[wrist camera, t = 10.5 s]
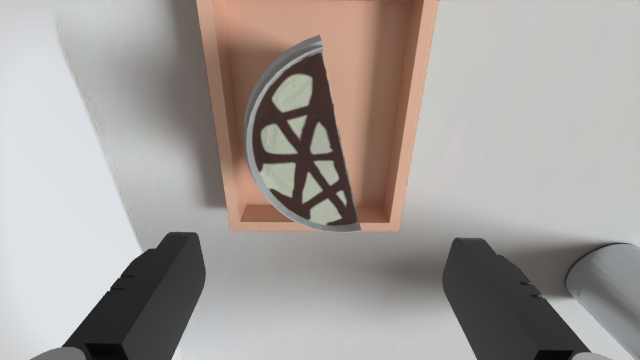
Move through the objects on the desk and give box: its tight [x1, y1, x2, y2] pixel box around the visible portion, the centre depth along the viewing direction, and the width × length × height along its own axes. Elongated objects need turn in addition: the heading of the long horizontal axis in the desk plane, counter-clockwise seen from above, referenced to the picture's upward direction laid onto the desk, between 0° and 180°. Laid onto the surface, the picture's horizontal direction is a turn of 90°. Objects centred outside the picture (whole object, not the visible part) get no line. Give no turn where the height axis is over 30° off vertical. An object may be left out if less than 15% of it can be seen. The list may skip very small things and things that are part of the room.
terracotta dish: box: [196, 0, 439, 232], centre depth 25 cm, size 16×20×4 cm
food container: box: [244, 35, 361, 233], centre depth 21 cm, size 12×6×10 cm, turn 13°
